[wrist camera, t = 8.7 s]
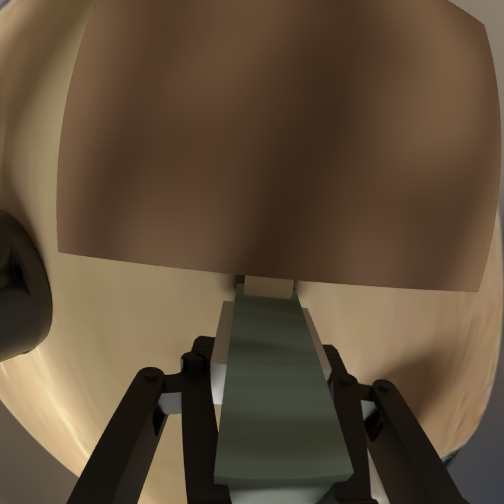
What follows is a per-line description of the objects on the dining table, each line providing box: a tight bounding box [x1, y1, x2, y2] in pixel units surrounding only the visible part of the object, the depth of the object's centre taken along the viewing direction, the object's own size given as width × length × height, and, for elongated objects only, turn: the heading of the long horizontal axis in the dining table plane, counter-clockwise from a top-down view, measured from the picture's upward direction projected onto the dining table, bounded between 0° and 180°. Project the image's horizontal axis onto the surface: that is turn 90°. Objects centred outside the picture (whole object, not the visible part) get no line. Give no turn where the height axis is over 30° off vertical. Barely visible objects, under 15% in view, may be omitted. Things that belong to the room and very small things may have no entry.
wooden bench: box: [57, 0, 501, 292], centre depth 12 cm, size 18×14×10 cm
